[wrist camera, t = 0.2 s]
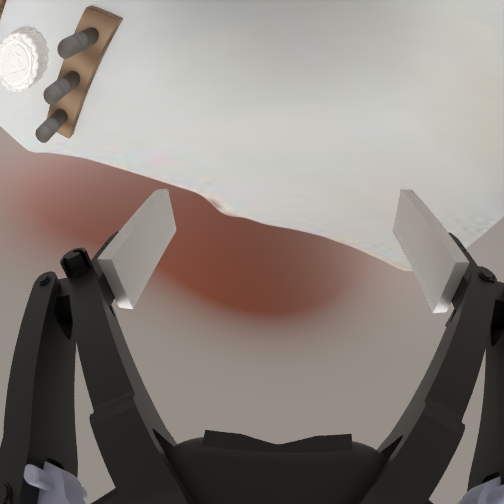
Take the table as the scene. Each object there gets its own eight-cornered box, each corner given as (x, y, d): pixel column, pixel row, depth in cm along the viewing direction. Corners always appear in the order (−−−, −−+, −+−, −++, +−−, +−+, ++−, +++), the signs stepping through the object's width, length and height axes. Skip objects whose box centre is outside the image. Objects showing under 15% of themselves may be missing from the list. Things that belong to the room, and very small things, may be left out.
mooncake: (46, 18, 21) (32, 24, 19) (53, 79, 31) (41, 88, 29) (2, 36, 20) (-12, 44, 18) (11, 89, 30) (-1, 98, 28)
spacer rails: (-5, -20, 9) (-36, -8, 5) (122, 18, 25) (94, 29, 20) (-28, 83, 25) (-51, 102, 21) (73, 133, 40) (52, 158, 36)
